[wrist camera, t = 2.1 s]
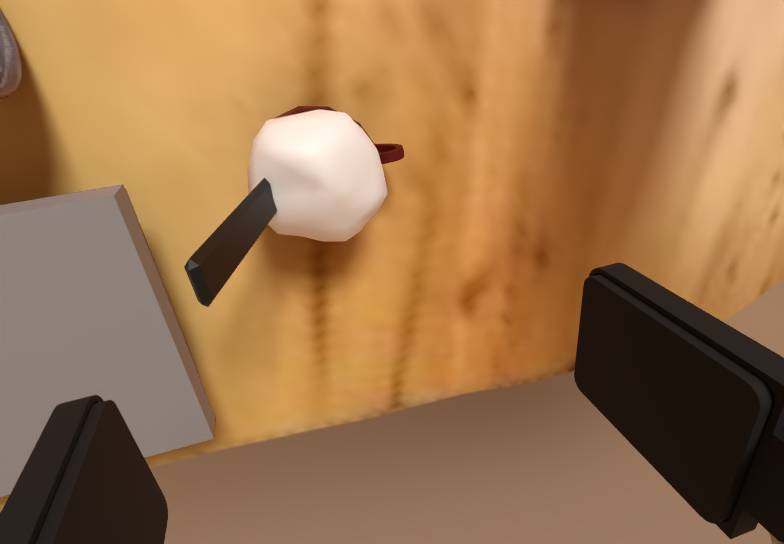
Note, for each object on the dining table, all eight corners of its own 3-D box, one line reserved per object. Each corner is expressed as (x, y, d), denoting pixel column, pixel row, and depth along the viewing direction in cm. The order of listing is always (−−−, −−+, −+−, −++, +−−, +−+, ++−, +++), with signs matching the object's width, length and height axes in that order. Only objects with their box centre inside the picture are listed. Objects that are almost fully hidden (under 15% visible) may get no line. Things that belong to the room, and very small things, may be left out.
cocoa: (391, 116, 26) (505, 161, 15) (369, 224, 28) (455, 326, 18) (206, 77, 22) (192, 102, 12) (198, 204, 24) (181, 318, 14)
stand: (139, 165, 23) (113, 195, 19) (219, 380, 30) (213, 439, 25) (-200, 219, 20) (-320, 269, 16) (-28, 441, 27) (-80, 519, 23)
